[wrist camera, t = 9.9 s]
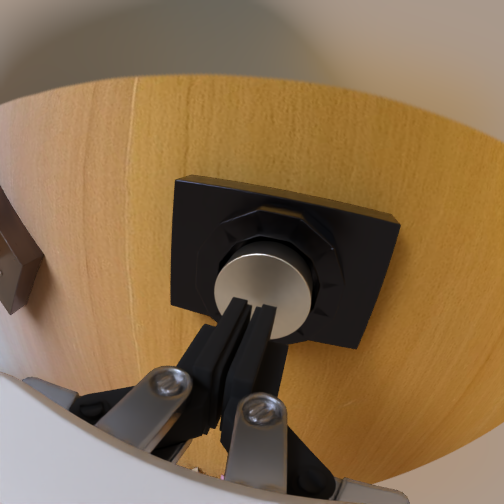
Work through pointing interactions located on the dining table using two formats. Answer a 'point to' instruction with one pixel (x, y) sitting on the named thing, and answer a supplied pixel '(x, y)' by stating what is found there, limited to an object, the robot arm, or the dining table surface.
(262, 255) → the bell button
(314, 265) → the block
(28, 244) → the rotary dial base
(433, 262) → the dining table surface
